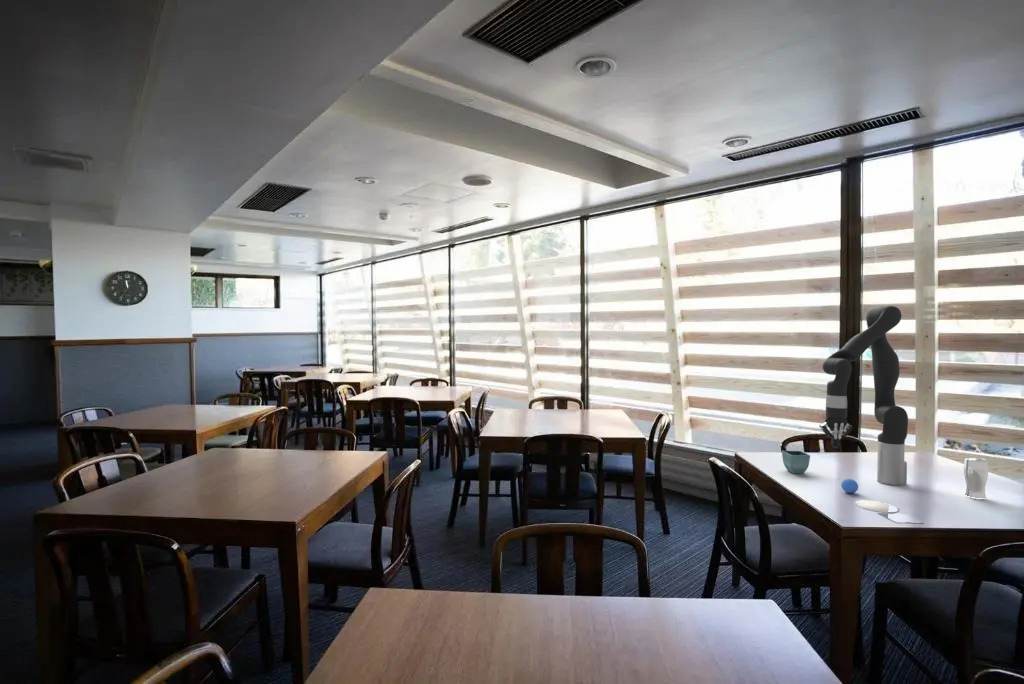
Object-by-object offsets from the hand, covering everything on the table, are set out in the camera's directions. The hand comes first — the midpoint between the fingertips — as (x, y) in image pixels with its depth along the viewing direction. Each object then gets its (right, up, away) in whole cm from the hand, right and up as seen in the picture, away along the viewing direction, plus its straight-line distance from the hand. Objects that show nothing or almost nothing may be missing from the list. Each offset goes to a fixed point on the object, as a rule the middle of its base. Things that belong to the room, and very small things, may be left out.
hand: (835, 447), depth 212 cm
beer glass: (+44, -17, -15) cm, 50 cm away
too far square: (-2, -17, -37) cm, 41 cm away
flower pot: (-5, -16, +21) cm, 27 cm away
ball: (0, -13, -9) cm, 16 cm away
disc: (-1, -17, -25) cm, 30 cm away
